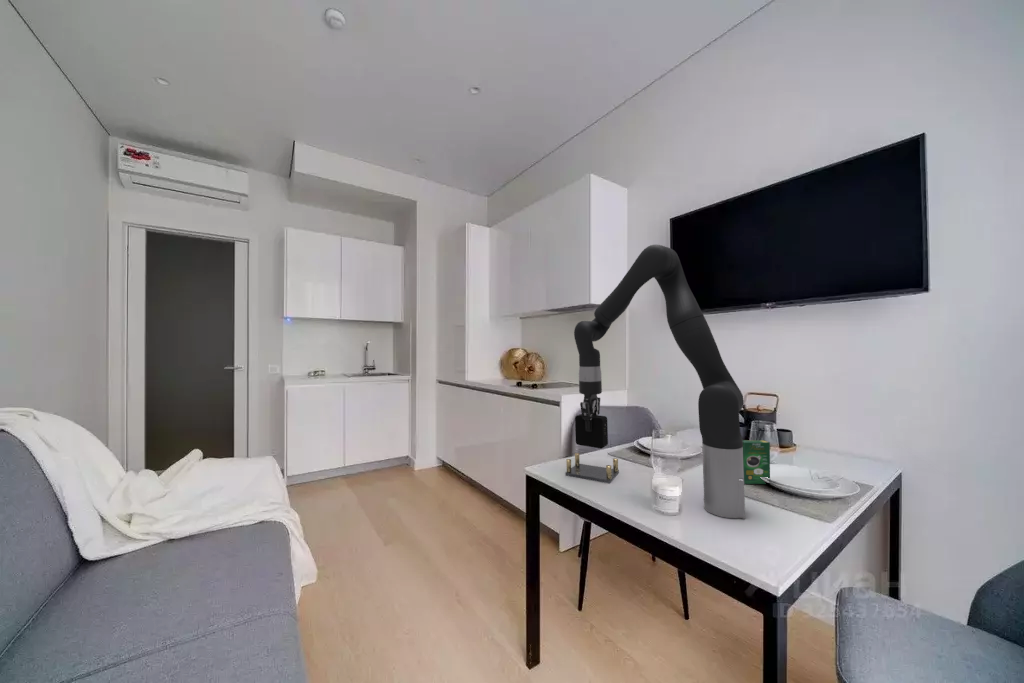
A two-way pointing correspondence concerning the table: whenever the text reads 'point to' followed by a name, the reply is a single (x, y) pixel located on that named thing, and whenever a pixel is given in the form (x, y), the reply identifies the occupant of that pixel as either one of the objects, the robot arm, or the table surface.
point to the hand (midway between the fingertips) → (591, 429)
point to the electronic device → (592, 432)
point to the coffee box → (756, 461)
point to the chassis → (592, 471)
